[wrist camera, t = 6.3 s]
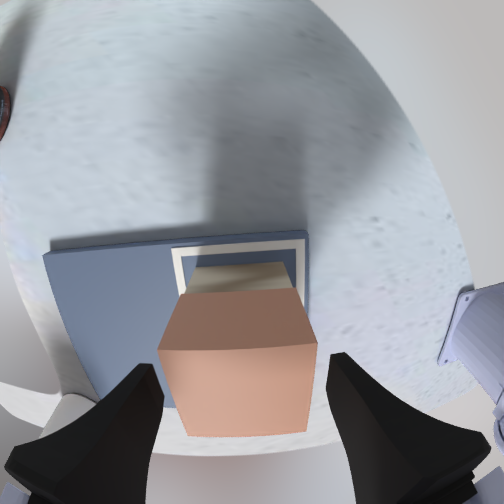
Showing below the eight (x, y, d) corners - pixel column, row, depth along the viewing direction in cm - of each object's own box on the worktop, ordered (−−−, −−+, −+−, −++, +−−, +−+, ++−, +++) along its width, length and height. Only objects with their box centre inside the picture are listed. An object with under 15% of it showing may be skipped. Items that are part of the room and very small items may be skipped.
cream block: (283, 261, 16) (295, 292, 12) (284, 333, 17) (293, 375, 13) (195, 267, 16) (181, 300, 12) (207, 338, 17) (199, 380, 13)
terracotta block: (295, 287, 12) (317, 342, 8) (293, 371, 13) (306, 431, 9) (181, 293, 12) (156, 349, 8) (198, 376, 13) (187, 435, 9)
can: (124, 432, 22) (97, 518, 11) (82, 425, 23) (50, 498, 11) (96, 393, 20) (52, 489, 9) (54, 388, 21) (8, 465, 9)
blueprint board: (304, 230, 16) (309, 234, 15) (299, 394, 20) (301, 404, 19) (49, 251, 16) (41, 255, 15) (103, 392, 20) (99, 400, 19)
